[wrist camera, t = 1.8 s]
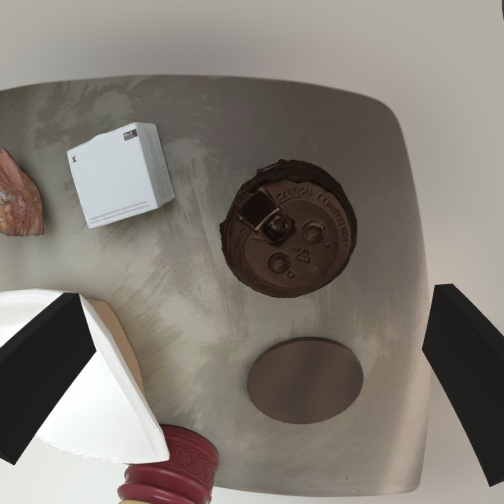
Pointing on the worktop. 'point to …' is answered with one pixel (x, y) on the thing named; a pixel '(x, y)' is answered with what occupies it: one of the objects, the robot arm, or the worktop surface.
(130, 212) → the small box
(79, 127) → the worktop surface
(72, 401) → the bowl
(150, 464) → the kitchen canister
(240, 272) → the coffee cup
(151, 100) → the worktop surface
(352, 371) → the coaster
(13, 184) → the stone
